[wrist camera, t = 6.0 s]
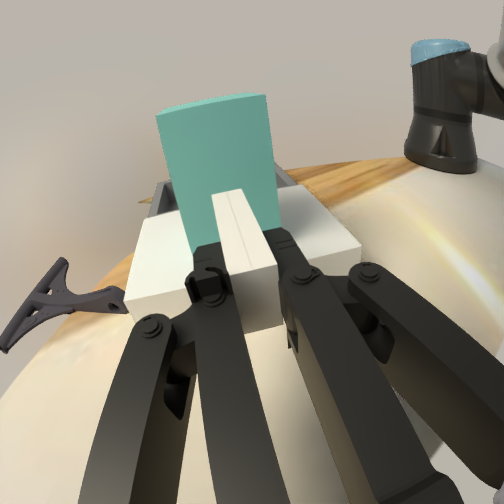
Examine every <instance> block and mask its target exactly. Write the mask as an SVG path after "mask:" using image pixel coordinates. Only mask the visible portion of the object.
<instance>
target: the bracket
mask: <svg viewBox="0 0 504 504" xmlns="http://www.w3.org/2000/svg"><path fill="white" fill-rule="evenodd" d="M68 267H69V263H68V262H67V260H66V259H65V258H63V257H60V258H59V259H58V260H57V261H56V263H55V264H54V265H53V266H52V267H51V268H50V270H49V271H48V272H47V273H46V275H45V276H44V277H43V278H42V279H41V281H40V282H39V283H38V284H37V286H36V287H35V288H34V290H33V291H32V292H31V293H30V295H29V296H28V297H27V299H26V300H25V301H24V303H23V304H22V306H21V307H20V308H19V310H18V311H17V313H16V314H15V315H14V317H13V318H12V320H11V321H10V322H9V324H8V325H7V327H6V328H5V330H4V331H3V333H2V334H1V336H0V350H1V351H2V352H3V353H4V354H8V352H9V350H10V349H11V348H12V347H13V346H14V345H15V344H16V343H17V342H18V341H19V340H20V339H21V338H22V337H23V336H24V335H25V334H27V333H28V332H29V331H31V330H32V329H33V328H35V327H36V326H38V325H39V324H41V323H43V322H44V321H46V320H48V319H50V318H53V317H56V316H59V315H62V314H69V315H70V314H71V313H72V312H73V311H84V312H98V313H116V314H127V312H128V309H127V307H126V305H125V304H124V302H123V300H124V296H125V291H123V290H122V289H120V288H118V287H116V286H108V287H106V288H104V289H101V290H98V291H94V292H91V293H88V294H82V295H76V294H74V293H72V292H70V291H69V290H68V289H67V287H66V282H65V279H66V273H67V270H68ZM51 289H52V294H51V295H48V292H49V291H50V290H51ZM111 303H113V304H114V305H115V306H117V307H119V308H116V307H114V306H113V305H112V304H111ZM35 311H39V312H37V313H36V314H35V315H33V313H34V312H35ZM32 315H33V316H32Z"/></svg>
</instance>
